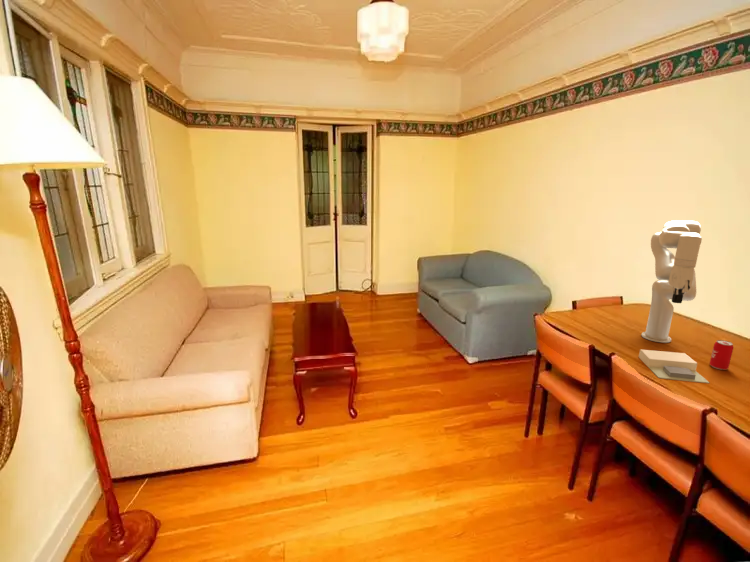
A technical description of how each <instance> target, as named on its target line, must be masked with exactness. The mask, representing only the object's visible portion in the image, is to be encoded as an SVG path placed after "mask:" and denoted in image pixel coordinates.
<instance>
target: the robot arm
mask: <svg viewBox="0 0 750 562" xmlns="http://www.w3.org/2000/svg"><path fill="white" fill-rule="evenodd" d="M701 231H702V226H701V224H700V223H699V221H695V220H677V219H676V220H671V221H667V222H666V223H665V224H664V225H663V229H662V230H661V231H660V232H656V233H653V235H652V236H651V239H650V249H651V252H652V255H653V257H654V261H655V262H654V265H655V266H654V267H655V273H654V274H655V278H656V279H657V280H655V281H654V282H653V283H652V285H651V303H650V307H649V308H650V309H649V312H648V313H649V314H648V319H647V323H646V326H645V331H643V332H642V333H641V337H642V338H643V339H645V340H648V341H651V342H655V343H663V344H667V343H670V342H672V338H671V337H670V336H669V334H670V330H671V326H672V325H671V323H672V320H673V315H674V311H675V309H674V308H675V307H674V305H673V304H682V303H683V301H684V302H691V301H693V300H695V299H696V296H697V280H696V278H697V277H696V270H695V268H696V265H697V261H698V257H699V252H700V248H701V244H702V240H703V239H702V236H701V235H700V234H701ZM669 249H676V251H675V254H674V253H672V252H671V251H670V250H669ZM670 300H671V301H670Z"/></svg>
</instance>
